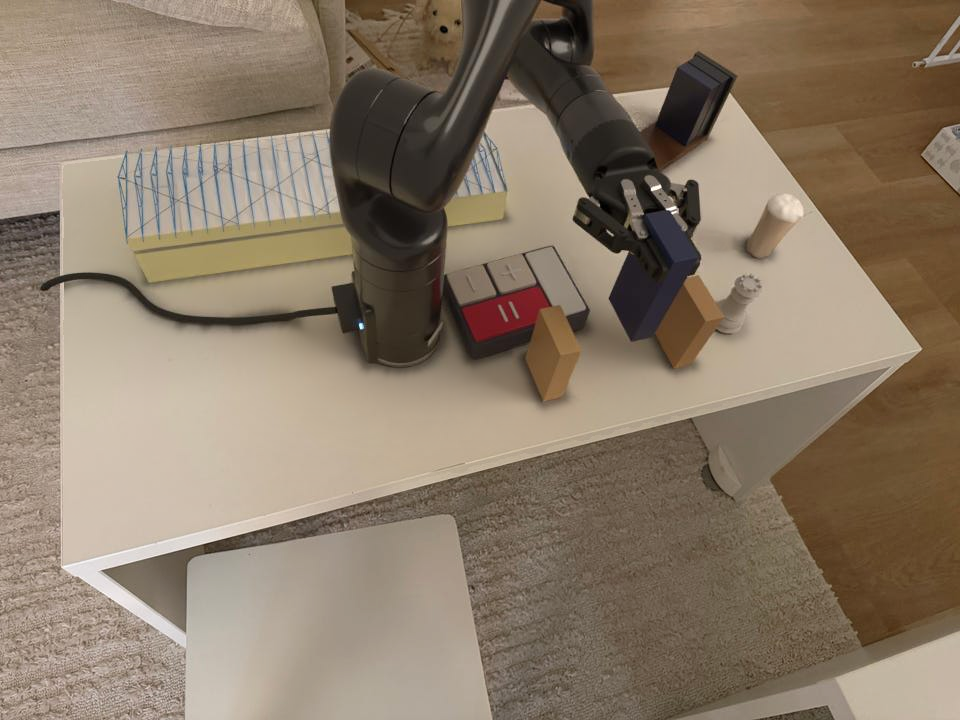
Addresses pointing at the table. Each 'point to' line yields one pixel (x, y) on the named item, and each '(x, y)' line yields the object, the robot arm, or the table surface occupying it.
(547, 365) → the tan blocks
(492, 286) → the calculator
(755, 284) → the rook chess piece
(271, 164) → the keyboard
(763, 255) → the milkshake
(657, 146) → the bookend
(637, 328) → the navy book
